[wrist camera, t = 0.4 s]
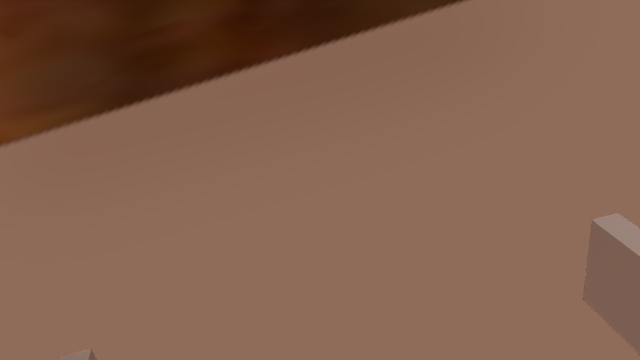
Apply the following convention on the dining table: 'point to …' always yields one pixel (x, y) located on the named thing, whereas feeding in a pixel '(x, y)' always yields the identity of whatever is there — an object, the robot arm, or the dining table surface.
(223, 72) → the dining table surface
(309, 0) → the dining table surface
